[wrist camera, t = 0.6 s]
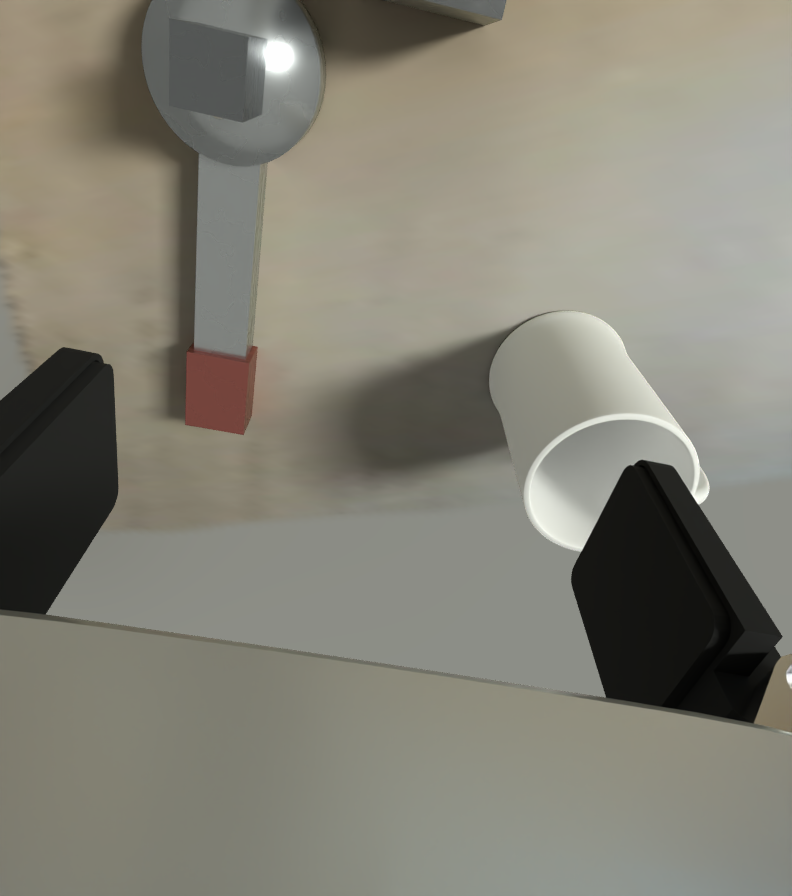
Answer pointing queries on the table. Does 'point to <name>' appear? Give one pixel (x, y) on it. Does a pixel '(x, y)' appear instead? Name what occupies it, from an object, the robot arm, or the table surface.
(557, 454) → the mug
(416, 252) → the table surface
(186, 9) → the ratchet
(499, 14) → the cube with domed knob
